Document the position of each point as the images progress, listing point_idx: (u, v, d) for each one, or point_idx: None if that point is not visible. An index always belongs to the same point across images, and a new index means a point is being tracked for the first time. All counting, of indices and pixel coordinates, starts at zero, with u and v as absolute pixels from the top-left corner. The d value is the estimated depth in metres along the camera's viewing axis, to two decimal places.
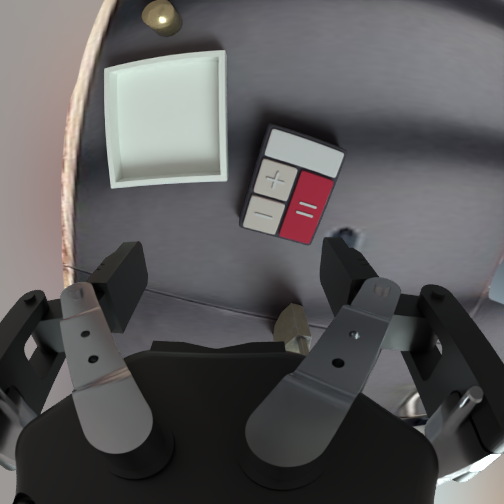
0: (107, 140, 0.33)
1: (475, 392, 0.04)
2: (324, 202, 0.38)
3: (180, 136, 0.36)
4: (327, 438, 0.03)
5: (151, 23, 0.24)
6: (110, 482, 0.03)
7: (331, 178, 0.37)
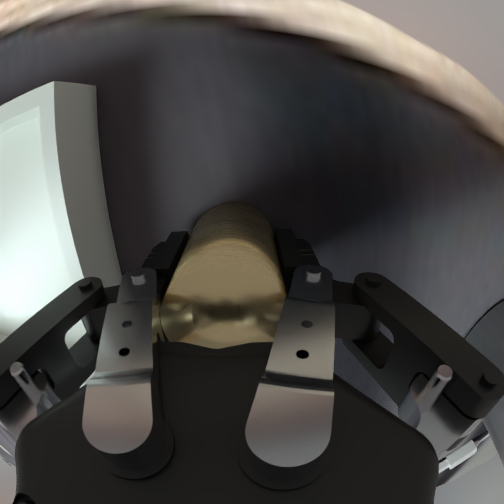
0: None
1: (444, 371, 0.05)
2: None
3: None
4: (327, 438, 0.03)
5: (166, 308, 0.08)
6: (110, 482, 0.03)
7: None
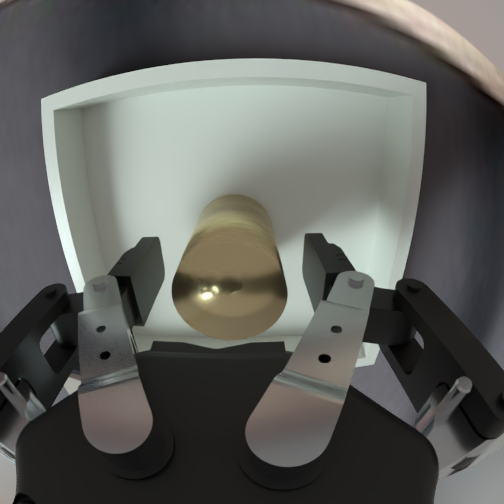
0: (176, 68, 0.09)
1: (464, 383, 0.04)
2: None
3: None
4: (327, 438, 0.03)
5: (177, 282, 0.09)
6: (110, 482, 0.03)
7: None
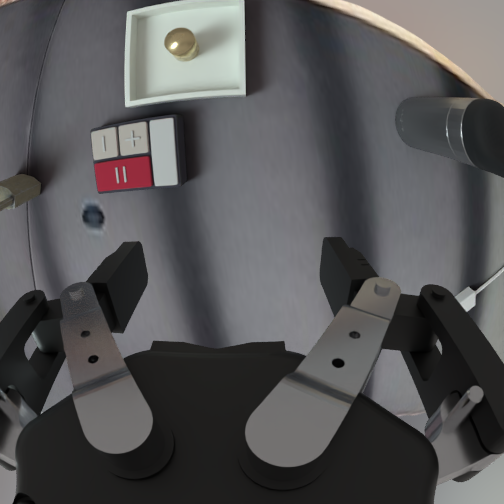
0: (170, 3, 0.27)
1: (475, 392, 0.04)
2: (132, 186, 0.40)
3: (168, 63, 0.34)
4: (327, 438, 0.03)
5: (167, 36, 0.27)
6: (110, 482, 0.03)
7: (153, 183, 0.40)
